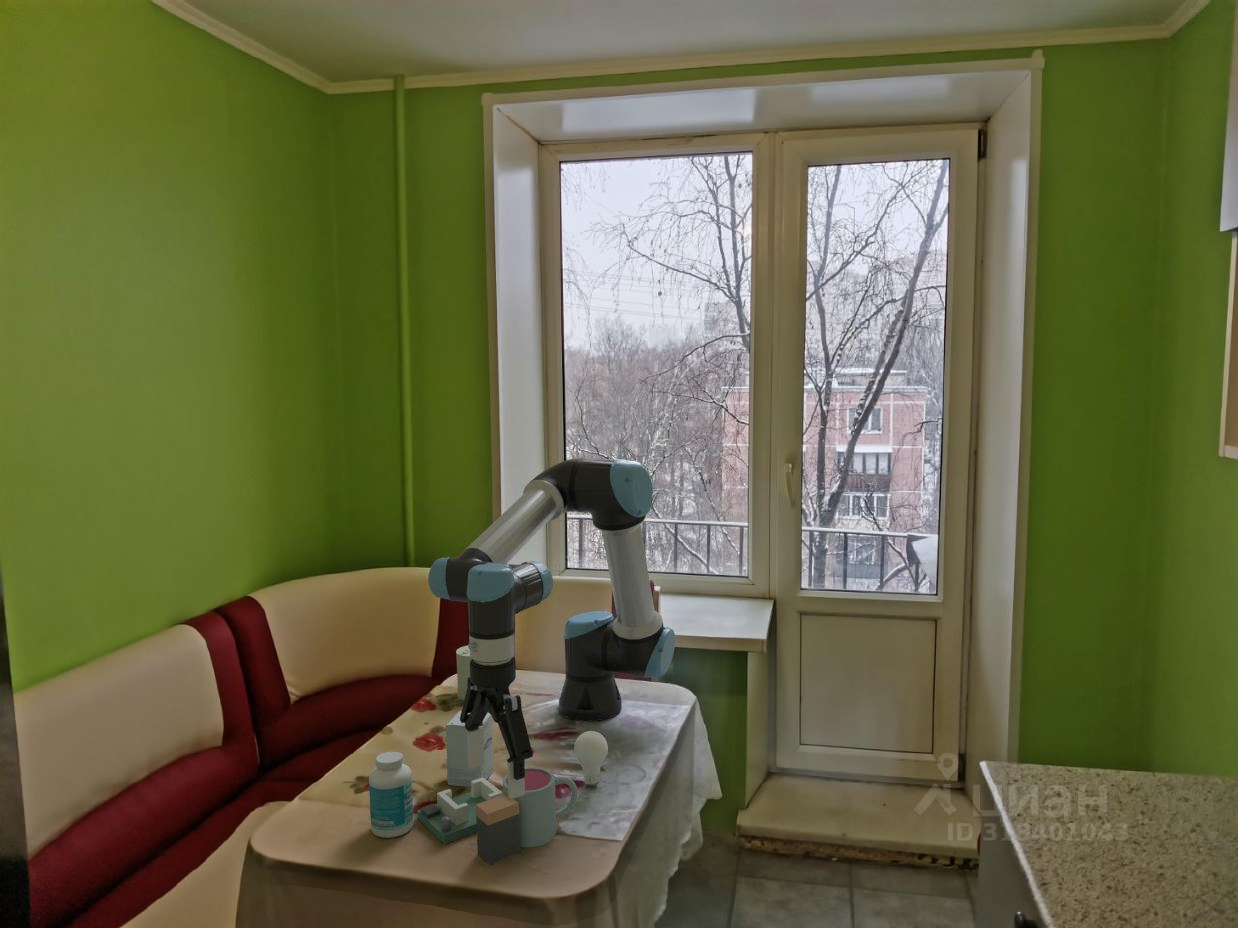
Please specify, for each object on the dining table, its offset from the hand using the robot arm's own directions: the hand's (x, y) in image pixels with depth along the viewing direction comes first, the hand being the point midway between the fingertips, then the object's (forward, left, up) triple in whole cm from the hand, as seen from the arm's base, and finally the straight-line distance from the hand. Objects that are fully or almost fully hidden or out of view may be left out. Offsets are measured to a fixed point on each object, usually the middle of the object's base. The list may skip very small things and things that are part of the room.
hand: (495, 780), depth 144 cm
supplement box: (-9, -27, -13) cm, 32 cm away
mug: (-10, -2, -13) cm, 17 cm away
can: (-31, -66, -13) cm, 74 cm away
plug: (0, 0, -13) cm, 13 cm away
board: (-1, -14, -13) cm, 19 cm away
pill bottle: (+11, -19, -13) cm, 26 cm away
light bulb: (-26, -9, -13) cm, 31 cm away
